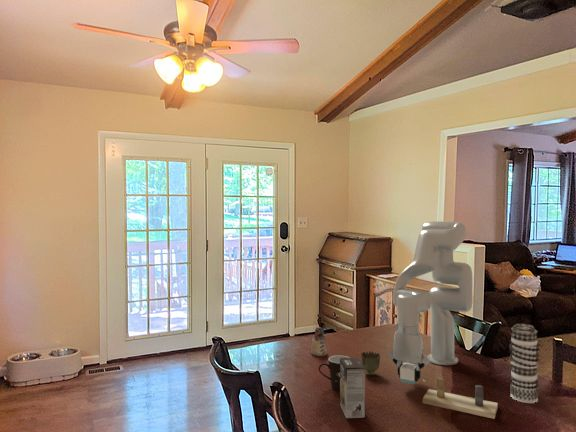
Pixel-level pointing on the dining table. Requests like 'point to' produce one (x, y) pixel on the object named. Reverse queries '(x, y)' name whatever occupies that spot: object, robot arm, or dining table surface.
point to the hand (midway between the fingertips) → (409, 378)
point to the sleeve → (407, 373)
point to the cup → (370, 362)
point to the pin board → (461, 401)
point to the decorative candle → (524, 363)
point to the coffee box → (352, 387)
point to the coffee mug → (334, 370)
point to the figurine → (319, 343)
